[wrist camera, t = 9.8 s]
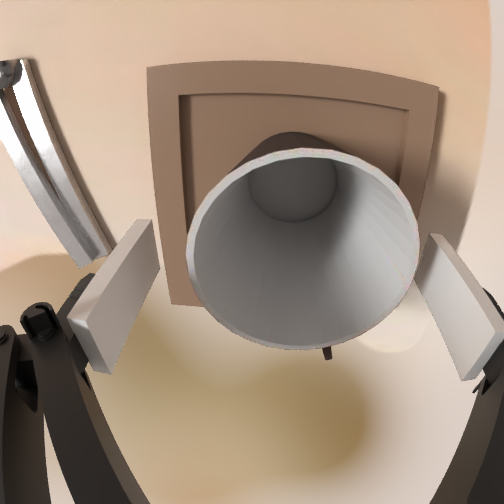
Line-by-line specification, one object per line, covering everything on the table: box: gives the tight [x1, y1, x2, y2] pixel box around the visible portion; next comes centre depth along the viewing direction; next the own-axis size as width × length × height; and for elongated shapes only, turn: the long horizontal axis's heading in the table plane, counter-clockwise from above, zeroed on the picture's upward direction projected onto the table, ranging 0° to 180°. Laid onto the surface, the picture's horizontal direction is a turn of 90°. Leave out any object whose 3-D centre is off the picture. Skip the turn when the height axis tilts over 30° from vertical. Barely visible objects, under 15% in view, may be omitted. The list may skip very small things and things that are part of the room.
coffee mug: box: [186, 131, 420, 360], centre depth 16 cm, size 12×9×10 cm
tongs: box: [0, 59, 112, 269], centre depth 19 cm, size 19×5×2 cm, turn 19°
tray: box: [147, 61, 439, 307], centre depth 20 cm, size 18×18×1 cm
